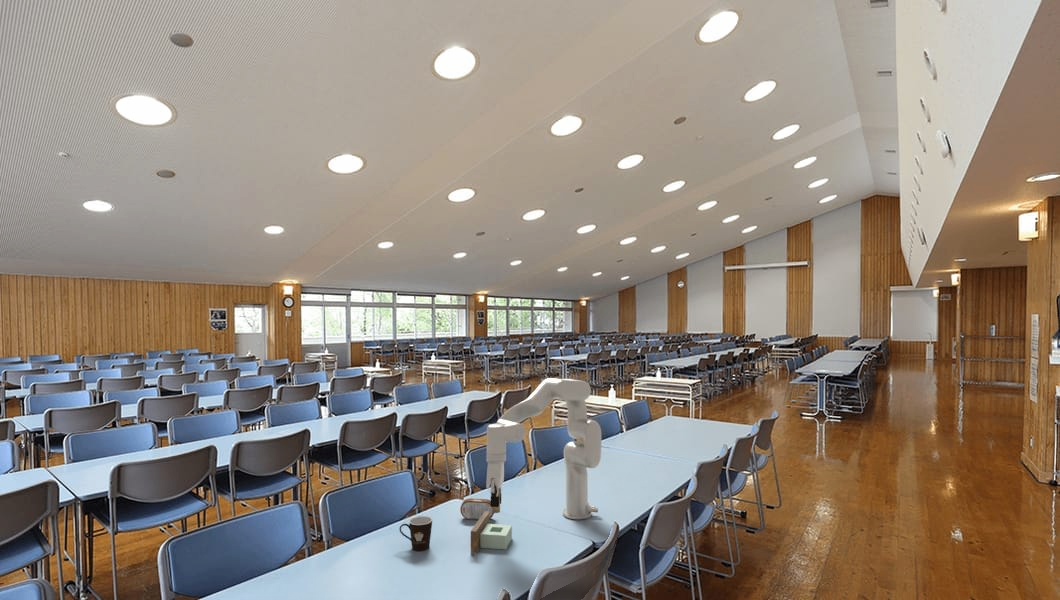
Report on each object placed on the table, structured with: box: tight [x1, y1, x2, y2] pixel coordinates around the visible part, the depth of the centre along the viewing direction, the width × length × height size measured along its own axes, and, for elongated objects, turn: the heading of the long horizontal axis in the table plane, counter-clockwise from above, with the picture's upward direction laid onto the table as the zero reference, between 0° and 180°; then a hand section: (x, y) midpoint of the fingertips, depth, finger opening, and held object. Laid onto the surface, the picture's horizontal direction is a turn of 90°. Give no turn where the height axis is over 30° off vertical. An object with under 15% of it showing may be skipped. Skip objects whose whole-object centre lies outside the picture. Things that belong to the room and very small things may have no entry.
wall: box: [470, 511, 491, 555], centre depth 196 cm, size 2×20×8 cm, turn 170°
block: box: [479, 523, 513, 550], centre depth 195 cm, size 10×10×5 cm
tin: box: [459, 498, 495, 521], centre depth 219 cm, size 15×3×8 cm, turn 84°
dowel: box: [492, 487, 501, 514], centre depth 196 cm, size 3×3×10 cm
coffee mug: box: [399, 515, 433, 552], centre depth 192 cm, size 12×9×10 cm
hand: (495, 504), depth 195 cm, fingers closed on dowel, 3 cm apart
